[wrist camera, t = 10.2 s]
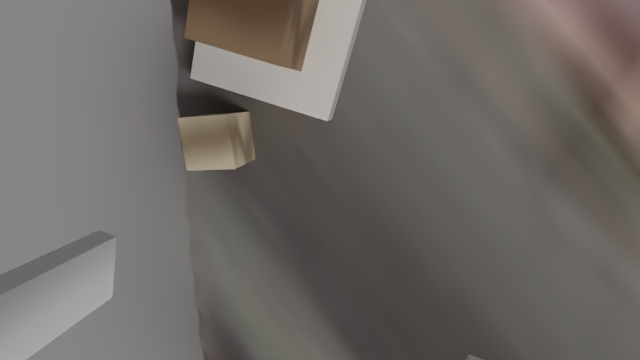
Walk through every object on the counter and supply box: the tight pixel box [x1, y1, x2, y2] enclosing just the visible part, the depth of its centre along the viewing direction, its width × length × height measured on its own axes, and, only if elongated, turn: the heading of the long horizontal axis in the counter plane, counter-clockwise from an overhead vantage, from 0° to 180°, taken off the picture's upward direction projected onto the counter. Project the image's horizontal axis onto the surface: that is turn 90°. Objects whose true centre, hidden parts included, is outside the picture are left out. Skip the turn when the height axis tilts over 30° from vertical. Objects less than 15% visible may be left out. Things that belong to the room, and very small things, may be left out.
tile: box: [190, 0, 366, 121], centre depth 29 cm, size 14×14×2 cm
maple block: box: [177, 112, 255, 171], centre depth 32 cm, size 5×5×5 cm
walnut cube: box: [184, 0, 319, 71], centre depth 24 cm, size 7×7×7 cm
